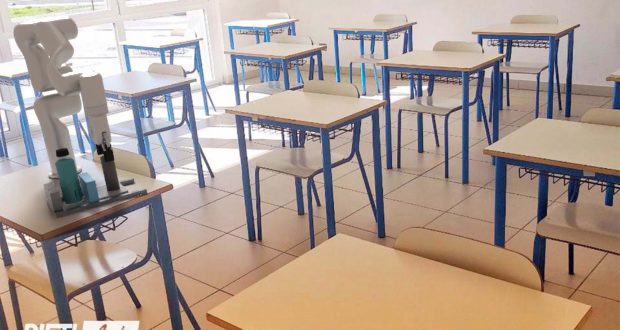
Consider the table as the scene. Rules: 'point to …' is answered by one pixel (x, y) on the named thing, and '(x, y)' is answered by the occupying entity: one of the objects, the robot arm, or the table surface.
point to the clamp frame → (57, 207)
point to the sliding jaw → (105, 191)
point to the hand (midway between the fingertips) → (105, 157)
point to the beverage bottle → (68, 177)
